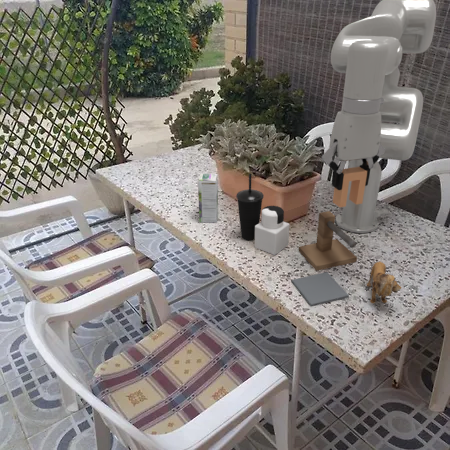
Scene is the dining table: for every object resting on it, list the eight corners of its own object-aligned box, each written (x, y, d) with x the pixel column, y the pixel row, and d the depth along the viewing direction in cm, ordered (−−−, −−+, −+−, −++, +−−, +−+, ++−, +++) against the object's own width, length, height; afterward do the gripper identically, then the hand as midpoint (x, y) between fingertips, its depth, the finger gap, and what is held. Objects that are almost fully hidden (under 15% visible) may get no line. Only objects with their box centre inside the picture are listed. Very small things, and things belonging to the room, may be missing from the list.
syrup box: (200, 214, 138) (198, 173, 130) (218, 214, 137) (217, 173, 130) (199, 222, 133) (196, 180, 126) (218, 222, 132) (216, 180, 125)
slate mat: (326, 273, 108) (327, 271, 108) (348, 297, 100) (348, 295, 99) (291, 281, 105) (291, 279, 105) (310, 306, 97) (311, 304, 97)
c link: (354, 198, 100) (359, 166, 96) (362, 203, 97) (367, 171, 94) (332, 202, 98) (336, 170, 94) (339, 207, 96) (343, 174, 92)
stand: (336, 243, 121) (341, 205, 115) (368, 273, 108) (375, 233, 102) (298, 251, 117) (301, 213, 111) (327, 283, 105) (332, 242, 99)
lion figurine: (397, 314, 94) (405, 281, 90) (373, 313, 95) (380, 281, 90) (379, 275, 107) (385, 245, 103) (358, 274, 107) (363, 244, 103)
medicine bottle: (268, 237, 124) (269, 200, 118) (288, 245, 120) (291, 207, 114) (253, 247, 120) (254, 210, 114) (274, 256, 116) (276, 217, 110)
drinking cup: (247, 246, 120) (248, 182, 110) (231, 235, 125) (230, 173, 116) (267, 237, 124) (270, 174, 114) (251, 227, 129) (252, 166, 119)
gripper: (384, 98, 93) (371, 174, 101) (314, 105, 88) (307, 184, 96) (407, 105, 86) (392, 186, 95) (334, 113, 82) (324, 197, 90)
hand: (349, 185), depth 96 cm, fingers closed on c link, 6 cm apart
